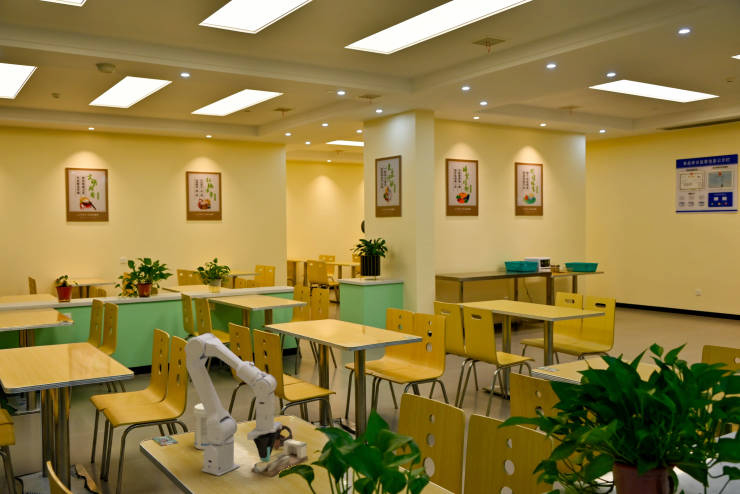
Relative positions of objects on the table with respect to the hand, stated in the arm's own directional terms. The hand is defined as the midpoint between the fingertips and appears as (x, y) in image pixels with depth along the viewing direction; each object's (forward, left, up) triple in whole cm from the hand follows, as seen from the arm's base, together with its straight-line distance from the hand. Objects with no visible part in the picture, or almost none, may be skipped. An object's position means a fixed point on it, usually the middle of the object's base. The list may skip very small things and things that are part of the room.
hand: (265, 456), depth 204 cm
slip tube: (+2, 0, -4) cm, 5 cm away
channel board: (+8, 0, -5) cm, 9 cm away
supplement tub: (+8, +34, -5) cm, 35 cm away
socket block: (+15, 0, -4) cm, 16 cm away
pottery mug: (+22, +14, -6) cm, 27 cm away
